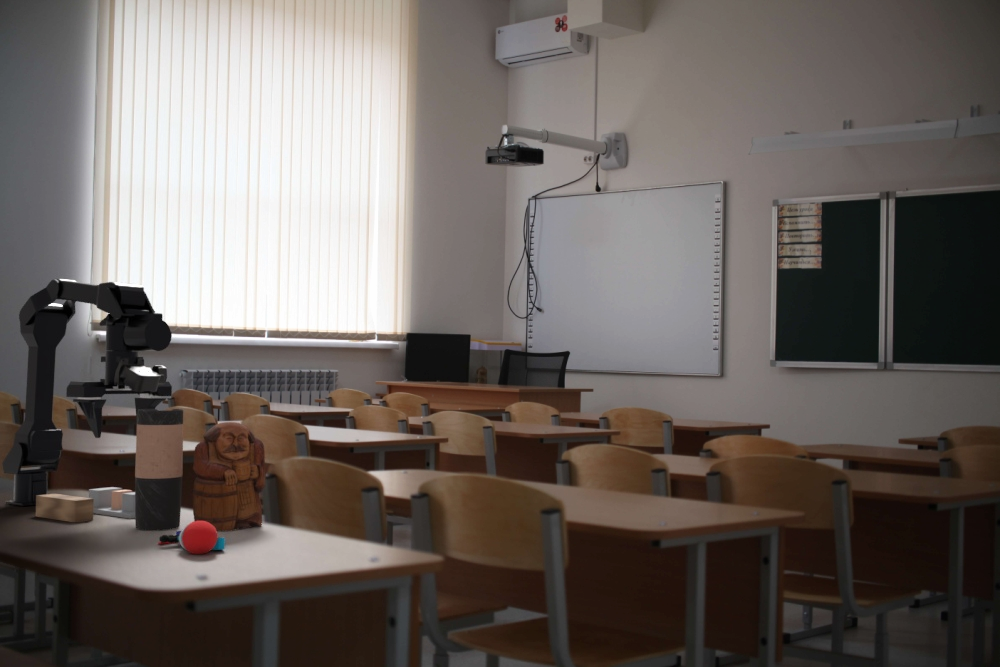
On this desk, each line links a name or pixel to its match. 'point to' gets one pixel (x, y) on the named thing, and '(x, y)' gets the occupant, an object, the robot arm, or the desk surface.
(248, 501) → the wooden figurine
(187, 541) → the toy figure
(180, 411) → the travel mug
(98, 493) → the pale grey flat fixture
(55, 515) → the walnut bar
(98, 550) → the desk surface
